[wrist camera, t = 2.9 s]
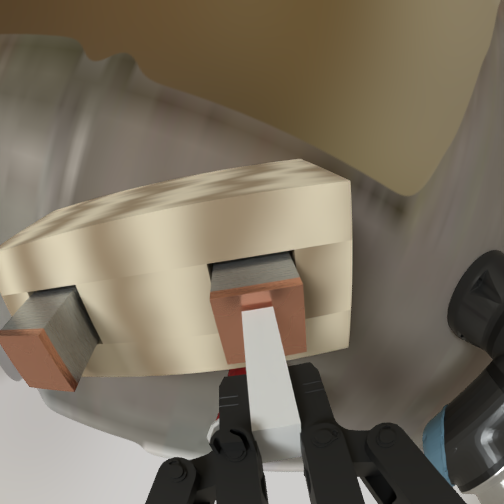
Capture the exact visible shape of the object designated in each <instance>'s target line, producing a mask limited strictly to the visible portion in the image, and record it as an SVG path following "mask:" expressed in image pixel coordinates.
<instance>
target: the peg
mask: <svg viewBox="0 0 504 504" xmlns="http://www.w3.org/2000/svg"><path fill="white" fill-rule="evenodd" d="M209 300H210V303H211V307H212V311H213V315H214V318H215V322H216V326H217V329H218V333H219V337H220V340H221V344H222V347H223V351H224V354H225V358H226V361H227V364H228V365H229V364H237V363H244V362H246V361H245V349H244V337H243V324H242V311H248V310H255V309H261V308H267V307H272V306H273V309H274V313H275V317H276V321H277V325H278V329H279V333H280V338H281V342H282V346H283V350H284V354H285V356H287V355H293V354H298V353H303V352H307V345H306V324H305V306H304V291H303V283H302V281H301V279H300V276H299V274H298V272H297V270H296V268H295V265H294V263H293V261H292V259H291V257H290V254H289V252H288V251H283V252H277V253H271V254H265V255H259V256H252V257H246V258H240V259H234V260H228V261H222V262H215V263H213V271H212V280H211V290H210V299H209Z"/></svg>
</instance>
